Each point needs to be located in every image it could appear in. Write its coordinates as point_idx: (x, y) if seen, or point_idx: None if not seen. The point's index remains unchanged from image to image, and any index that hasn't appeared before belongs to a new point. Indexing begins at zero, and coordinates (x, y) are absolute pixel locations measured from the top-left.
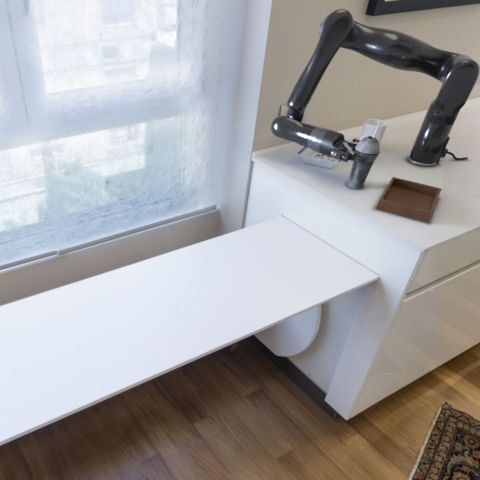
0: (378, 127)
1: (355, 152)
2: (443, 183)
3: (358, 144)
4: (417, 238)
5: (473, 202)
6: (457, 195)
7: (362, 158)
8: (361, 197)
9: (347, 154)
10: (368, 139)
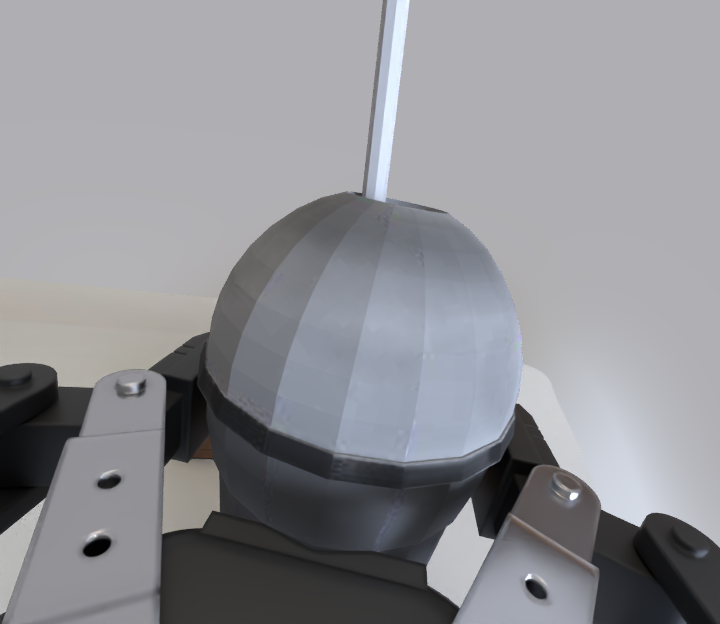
0: (403, 37)
1: (479, 478)
2: (72, 323)
3: (498, 366)
4: (522, 376)
5: (213, 298)
6: (178, 311)
7: (522, 408)
8: (446, 555)
9: (715, 545)
10: (465, 226)
